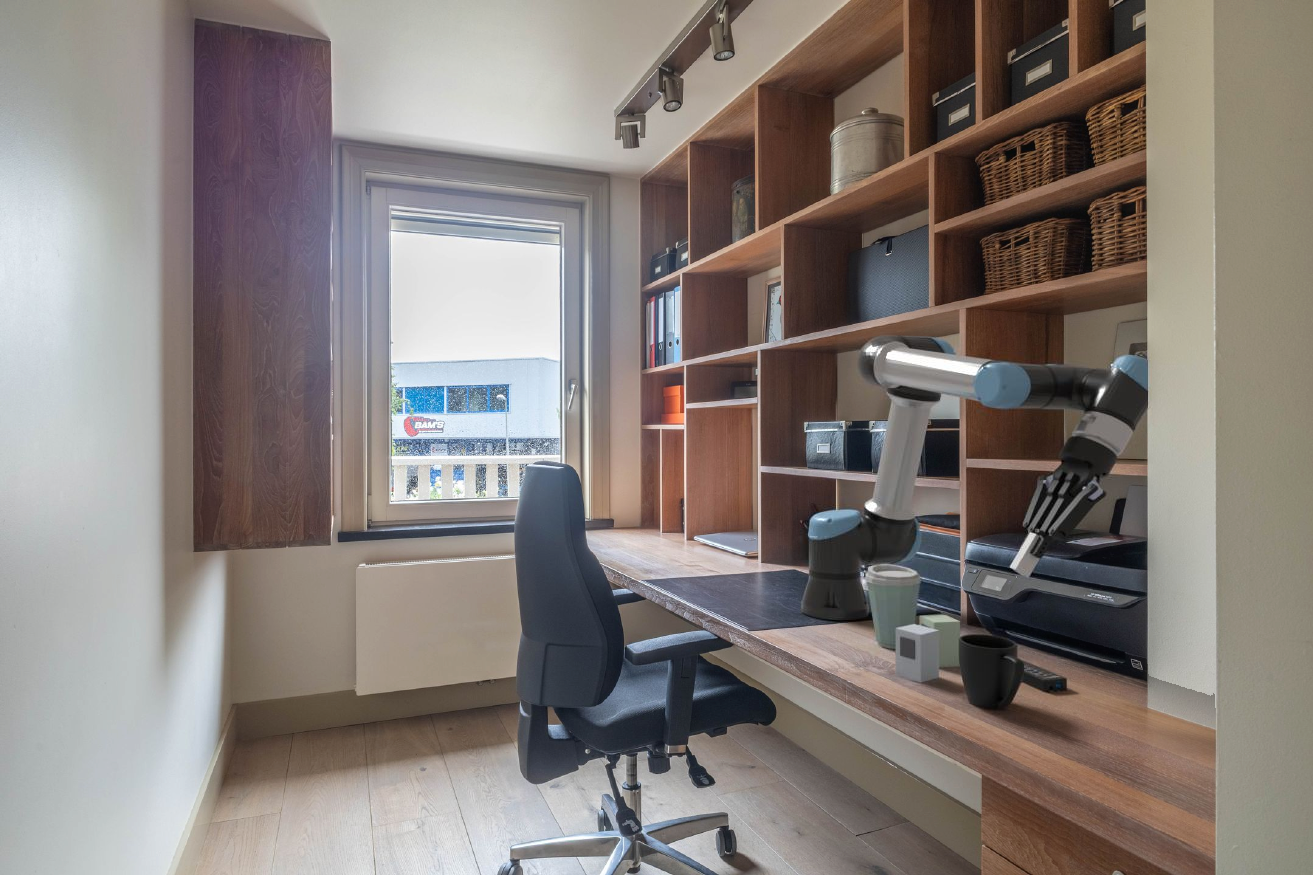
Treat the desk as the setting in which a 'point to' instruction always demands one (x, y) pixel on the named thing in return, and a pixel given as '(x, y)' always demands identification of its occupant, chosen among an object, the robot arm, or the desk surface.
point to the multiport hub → (1043, 679)
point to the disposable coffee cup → (892, 600)
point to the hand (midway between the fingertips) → (1018, 572)
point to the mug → (990, 670)
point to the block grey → (917, 653)
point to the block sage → (945, 637)
